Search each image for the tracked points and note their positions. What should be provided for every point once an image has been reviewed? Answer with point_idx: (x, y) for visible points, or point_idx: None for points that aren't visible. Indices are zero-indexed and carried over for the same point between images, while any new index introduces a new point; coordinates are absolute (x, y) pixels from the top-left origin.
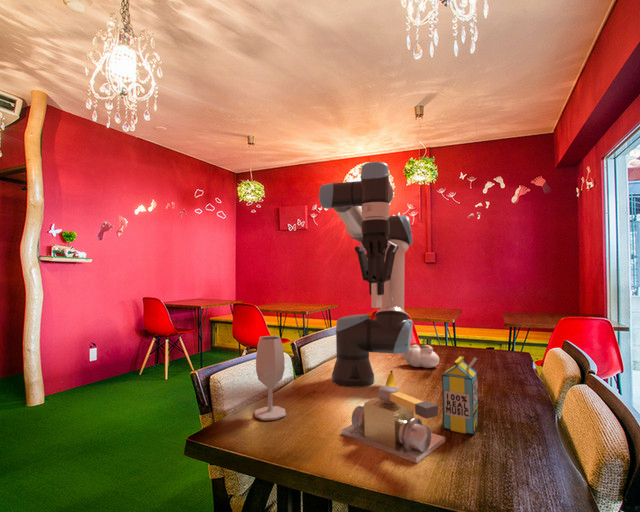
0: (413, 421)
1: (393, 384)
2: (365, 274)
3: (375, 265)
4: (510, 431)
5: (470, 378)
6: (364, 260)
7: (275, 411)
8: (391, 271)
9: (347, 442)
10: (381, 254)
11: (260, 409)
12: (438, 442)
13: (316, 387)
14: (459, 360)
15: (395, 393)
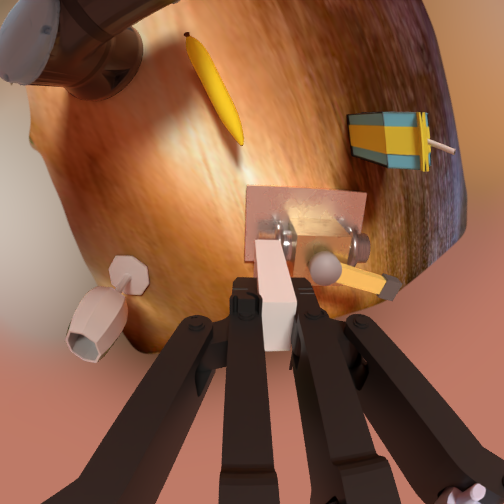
0: (356, 260)
1: (208, 58)
2: (207, 388)
3: (268, 415)
4: None
5: (429, 164)
6: (164, 463)
7: (133, 274)
8: (399, 356)
9: None
10: (350, 494)
11: (114, 280)
12: (363, 210)
13: (80, 140)
14: (426, 150)
15: (341, 277)
